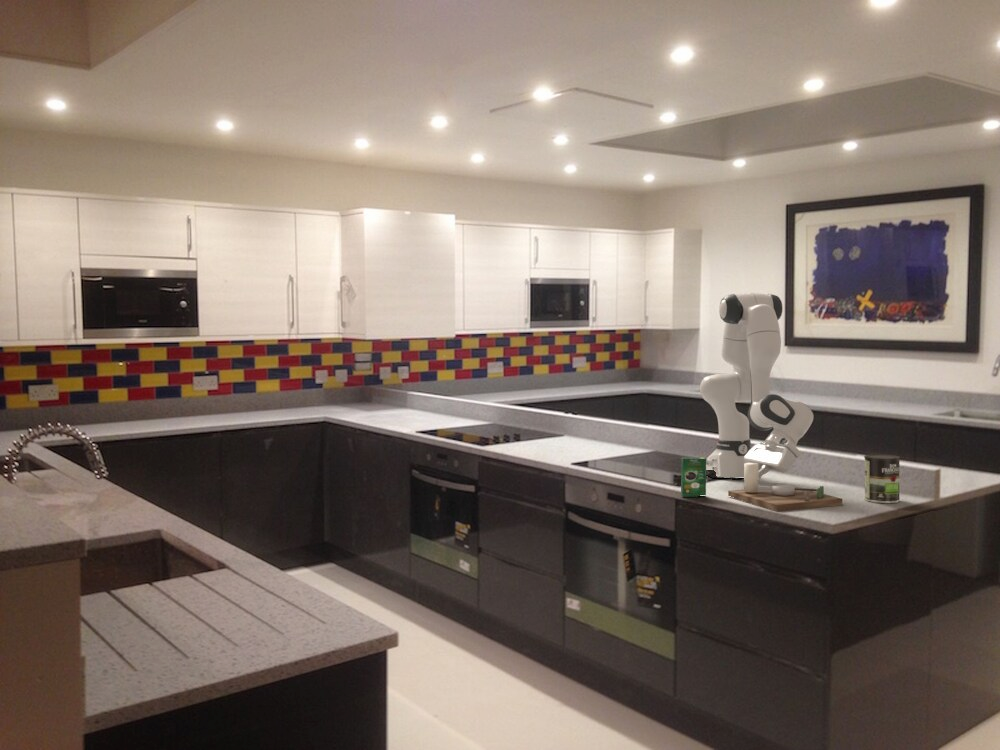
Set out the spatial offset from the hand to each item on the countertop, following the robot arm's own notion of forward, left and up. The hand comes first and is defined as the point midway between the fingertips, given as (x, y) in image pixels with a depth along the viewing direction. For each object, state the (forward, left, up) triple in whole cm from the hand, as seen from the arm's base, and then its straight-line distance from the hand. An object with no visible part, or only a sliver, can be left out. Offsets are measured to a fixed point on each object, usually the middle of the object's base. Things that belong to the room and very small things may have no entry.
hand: (754, 476), depth 280 cm
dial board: (+9, +5, -7) cm, 12 cm away
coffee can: (+21, +33, -7) cm, 39 cm away
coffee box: (-9, -17, -7) cm, 21 cm away
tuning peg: (+8, +4, -4) cm, 10 cm away
